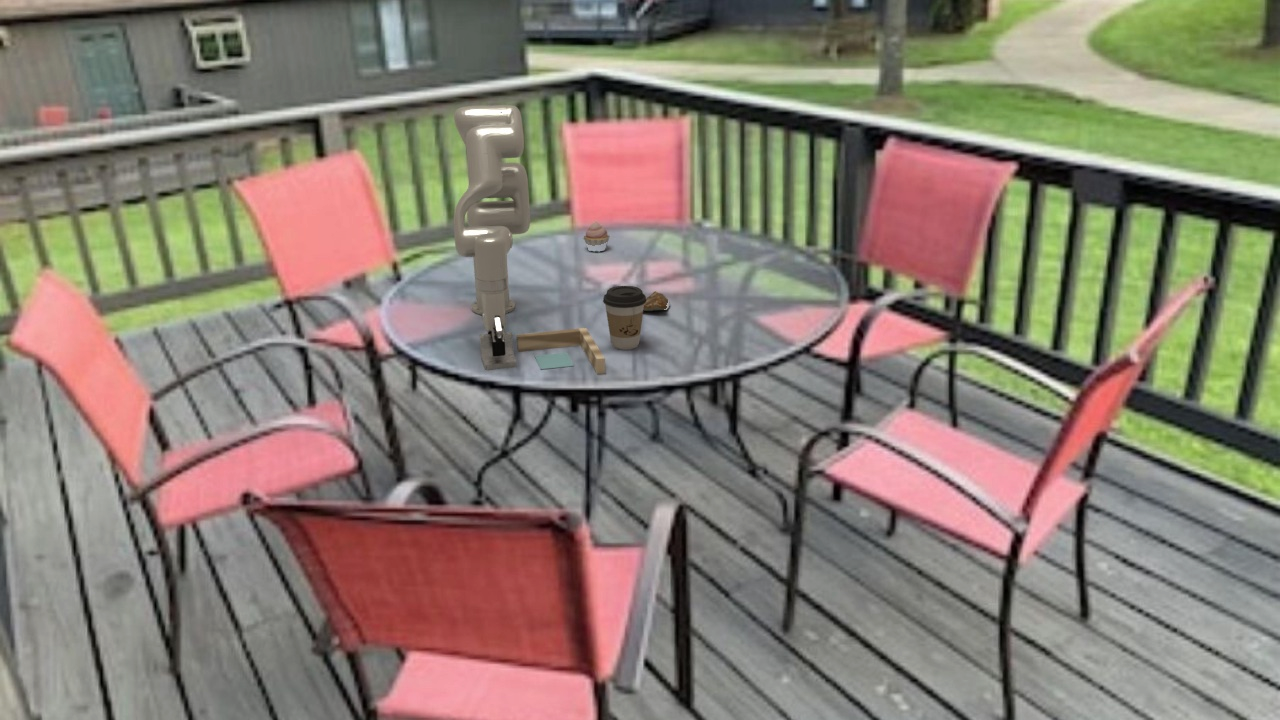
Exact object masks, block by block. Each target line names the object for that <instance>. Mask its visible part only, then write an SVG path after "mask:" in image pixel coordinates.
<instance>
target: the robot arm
mask: <svg viewBox="0 0 1280 720" xmlns="http://www.w3.org/2000/svg"><path fill="white" fill-rule="evenodd" d="M453 119H454V125H455V127H456V129H457V132H458V134H459V135H460V138H461V139H462V141H463V142H464V145H465V148H466V160H467V161H466V162H467V176H468V179H467V180H468V188H467V189H466V191H465V192H464V193H462V194H463V195H462V196H460V198H459V200H458V202H457V204H456V206H455V208H454V214H453V233H454V245H455V250H456V253H457V254H458V255H459V256H461V257H463V258H473V269H474V270H473V271H474V283H475V295H476V296H475V298H476V301H474V302H473V303H472V304H471V311H472V312H473V313H475V314H477V315H480V316H481V317H482V323H483V326H484V329H485V331H486V332H487V334H492V338H493V341H492V353H493V356H494V357H495V356H504V355H505V354H506V353H505V340H504V334H503V333H504V330H506V324H507V323H506V314H508V312H509V313H511V312H513V311H514V310H515V309H516V303H515V301H514V300H511V299H510V288H509V272H508V271H509V270H508V269H509V268H508V255H507V254H509V252H510V250H511V249H512V247H513V243H514V242H513V240H514V239H513V235H522V234H525V233H527V232H528V231H529V229H530V226H531V214H530V211H531V210H530V194H529V191H530V190H529V180H528V174H527V170H526V168H525V166H524V165H523V164H521V163H519V162H502V159H518V158H520V157H521V156H522V155H523V153H524V149H525V136H524V134H525V133H524V127H523V118H522V113H521V111H520V109H519V108H518V107H517V106H515V105H511V104H501V105H468V106H462V107H459V108H458V109H456V110H455V112H454V117H453ZM504 198H505V199H506V198H508V199H511V200H489V201H482V200H484V199H504ZM466 219H467V224H468V226H467V227H466V225H465V221H466ZM514 308H515V309H514ZM494 333H496V334H494Z"/></svg>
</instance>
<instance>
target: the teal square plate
mask: <svg viewBox="0 0 1280 720" xmlns="http://www.w3.org/2000/svg"><path fill="white" fill-rule="evenodd" d="M534 357H535V361H536V363H537V365H538V367H539V369H540V370H541V371H542V370H544V371H545V370H552V369H559V368H560V369H561V368H568V367H569V368H570V367H575V364H574V363H573V361H572V359H571V357H570V355H569V354H568V352H557V353H548V354H539V355H534Z"/></svg>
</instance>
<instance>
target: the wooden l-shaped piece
mask: <svg viewBox="0 0 1280 720" xmlns="http://www.w3.org/2000/svg"><path fill="white" fill-rule="evenodd" d="M576 346H580V347H581V348H582V350H583V352H584V353H585V356H586V357H587V359H588V361H589V362H590V364H591V366H592V368H593V369H594V371H595V373H596V374H597V375H603V374H606V358H605V356H604V355H603V353H602V351H601V350H600V348H599V347H598V345H597V344H596V341H595V340H594V338H593V337H592V335H591V334H590V332H589V331H588V329H587V328H586V327H580V328H578V327H577V328H570V329H569V328H568V329H559V330H551V331H550V330H549V331H540V332H532V333H521V334H516V347H517V351H518V352H526V351H528V352H529V351H537V350H539V351H540V350H548V349H549V350H550V349H557V348H565V347H566V348H567V347H576Z"/></svg>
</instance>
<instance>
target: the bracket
mask: <svg viewBox="0 0 1280 720" xmlns="http://www.w3.org/2000/svg"><path fill="white" fill-rule="evenodd" d="M494 334H496V333H494ZM503 334H504V340H505V353H506V354H505V355H504V356H495V357H494V356H493V353H492V341H493V338H492V334H488V333H485V334H479V342H480V344H479V345H480V354H481V355H480V356H481V363H482V365H483V369H484V371H485V370H486V371H493V370H494V371H495V370H503V369H512V368H517V366H518V365H517V360H516V357H515V355H514V342H513V332H512V331H506V332H504V331H503Z"/></svg>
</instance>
